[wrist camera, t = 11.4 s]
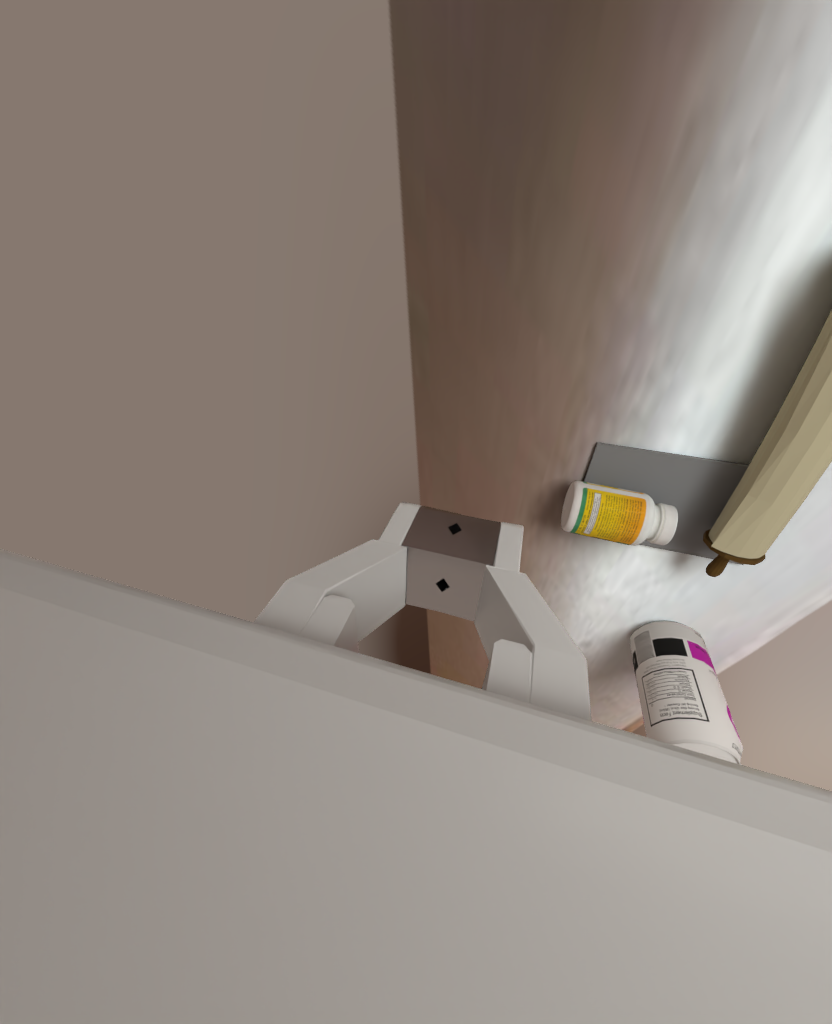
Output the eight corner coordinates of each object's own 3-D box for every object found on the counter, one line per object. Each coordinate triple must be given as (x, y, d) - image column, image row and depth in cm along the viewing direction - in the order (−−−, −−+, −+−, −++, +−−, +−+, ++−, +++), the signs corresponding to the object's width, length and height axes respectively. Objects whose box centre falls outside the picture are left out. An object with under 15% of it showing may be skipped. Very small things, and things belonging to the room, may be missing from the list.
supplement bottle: (573, 471, 40) (672, 488, 38) (559, 512, 43) (650, 531, 41) (576, 496, 36) (688, 518, 34) (560, 541, 39) (662, 563, 37)
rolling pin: (732, 564, 41) (752, 598, 37) (674, 554, 42) (687, 586, 38) (1000, 154, 22) (1097, 135, 18) (882, 158, 24) (949, 140, 20)
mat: (597, 442, 38) (597, 444, 38) (808, 473, 34) (810, 476, 34) (567, 528, 45) (567, 530, 44) (742, 562, 41) (743, 564, 41)
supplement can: (715, 627, 47) (767, 758, 35) (684, 665, 52) (721, 790, 40) (643, 610, 48) (671, 730, 37) (619, 648, 53) (638, 765, 42)
